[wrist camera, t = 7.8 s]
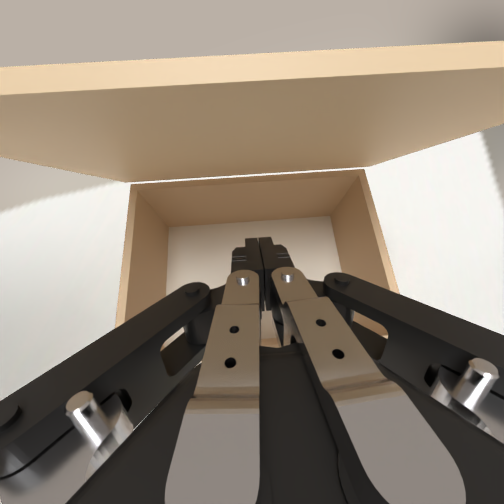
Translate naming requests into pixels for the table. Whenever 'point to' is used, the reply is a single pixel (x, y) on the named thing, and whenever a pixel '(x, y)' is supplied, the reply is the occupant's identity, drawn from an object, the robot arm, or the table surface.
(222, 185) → the box
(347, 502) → the robot arm
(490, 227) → the table surface
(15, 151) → the mailer lid
